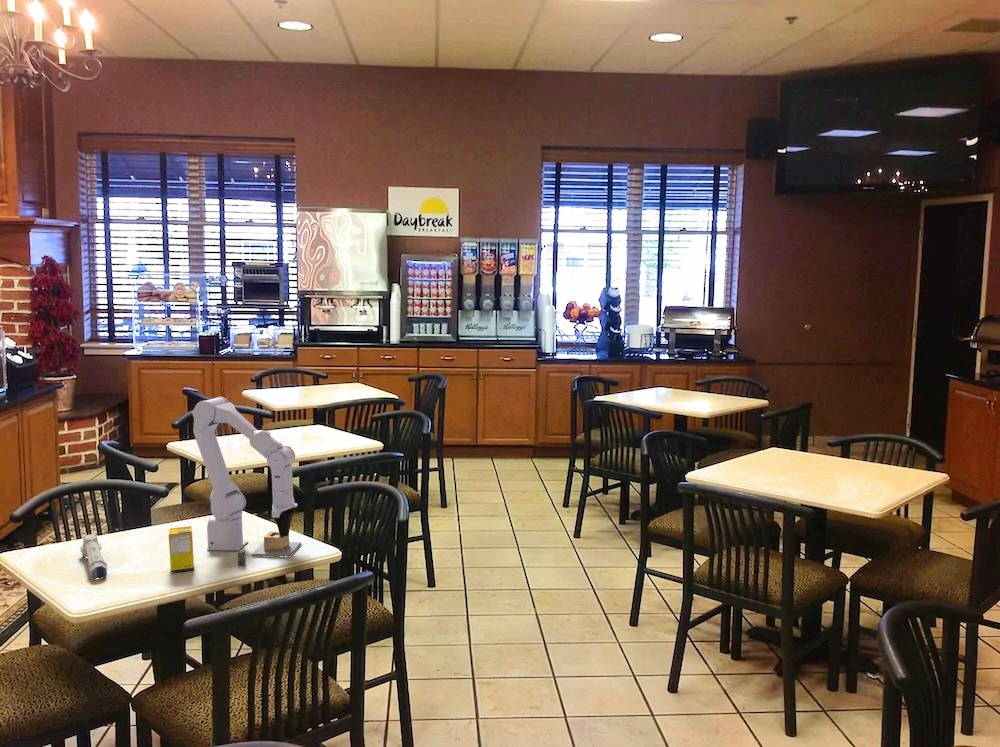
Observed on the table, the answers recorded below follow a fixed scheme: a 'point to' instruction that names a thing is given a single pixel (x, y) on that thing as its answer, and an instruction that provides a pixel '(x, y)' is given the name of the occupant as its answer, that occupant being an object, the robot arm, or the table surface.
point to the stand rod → (241, 558)
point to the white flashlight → (94, 556)
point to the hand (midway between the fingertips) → (284, 535)
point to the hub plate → (286, 552)
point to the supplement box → (181, 549)
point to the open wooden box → (275, 542)
